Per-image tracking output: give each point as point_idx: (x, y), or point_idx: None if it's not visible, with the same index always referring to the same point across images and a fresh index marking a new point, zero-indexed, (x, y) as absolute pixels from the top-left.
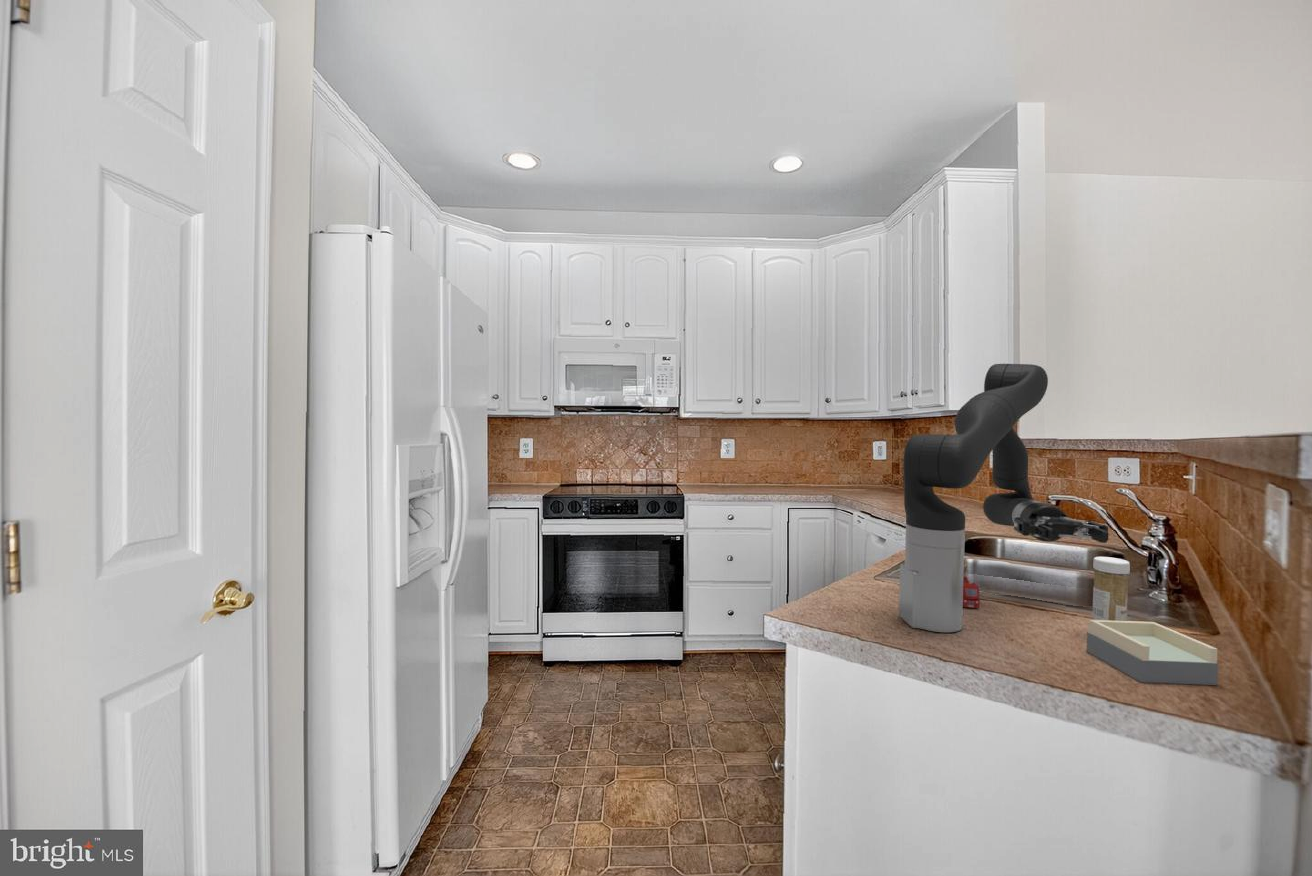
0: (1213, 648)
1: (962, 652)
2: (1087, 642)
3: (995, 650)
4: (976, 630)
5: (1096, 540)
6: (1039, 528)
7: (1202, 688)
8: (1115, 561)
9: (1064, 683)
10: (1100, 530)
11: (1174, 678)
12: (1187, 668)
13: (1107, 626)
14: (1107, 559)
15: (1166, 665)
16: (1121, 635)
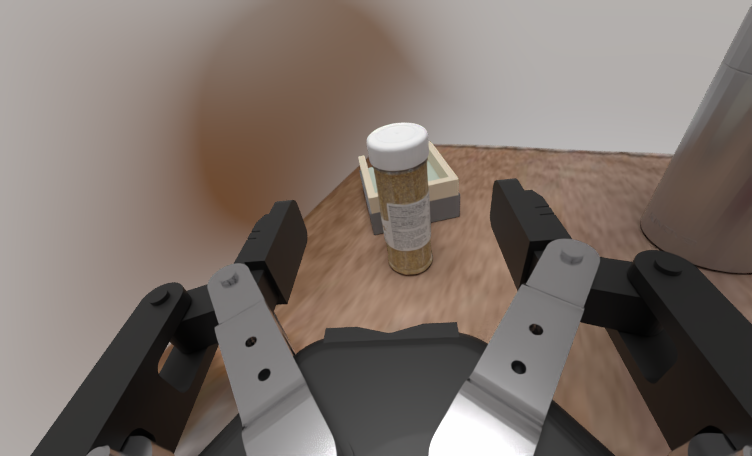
0: (361, 156)
1: (610, 171)
2: (459, 205)
3: (573, 186)
4: (615, 233)
5: (298, 267)
6: (554, 215)
7: None
8: (398, 125)
9: (503, 154)
10: (288, 208)
11: None
12: None
13: (443, 167)
14: (405, 130)
15: None
16: (439, 153)
